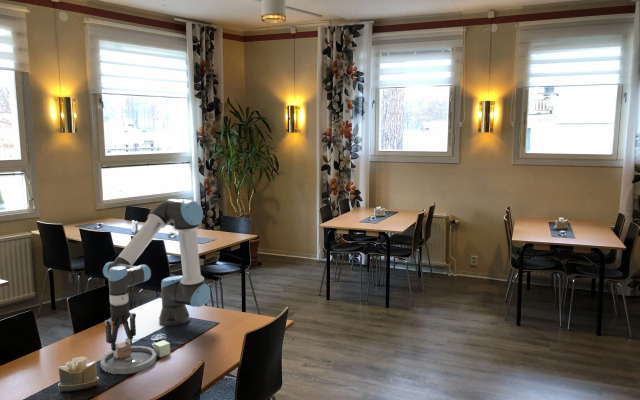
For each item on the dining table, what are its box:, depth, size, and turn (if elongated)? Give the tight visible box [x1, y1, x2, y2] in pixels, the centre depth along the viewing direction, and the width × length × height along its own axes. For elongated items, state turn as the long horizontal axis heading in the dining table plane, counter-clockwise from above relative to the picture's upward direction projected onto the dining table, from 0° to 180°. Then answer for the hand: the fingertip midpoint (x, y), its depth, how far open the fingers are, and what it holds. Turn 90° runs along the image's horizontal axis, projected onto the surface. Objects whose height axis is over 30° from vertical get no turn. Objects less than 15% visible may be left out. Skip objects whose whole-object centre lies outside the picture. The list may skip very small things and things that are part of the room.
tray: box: [100, 345, 158, 375], centre depth 221 cm, size 22×22×3 cm
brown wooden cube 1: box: [117, 341, 131, 359], centre depth 225 cm, size 5×5×5 cm
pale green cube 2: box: [153, 339, 171, 358], centre depth 230 cm, size 5×5×5 cm
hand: (122, 354), depth 225 cm, fingers closed on brown wooden cube 1, 5 cm apart
